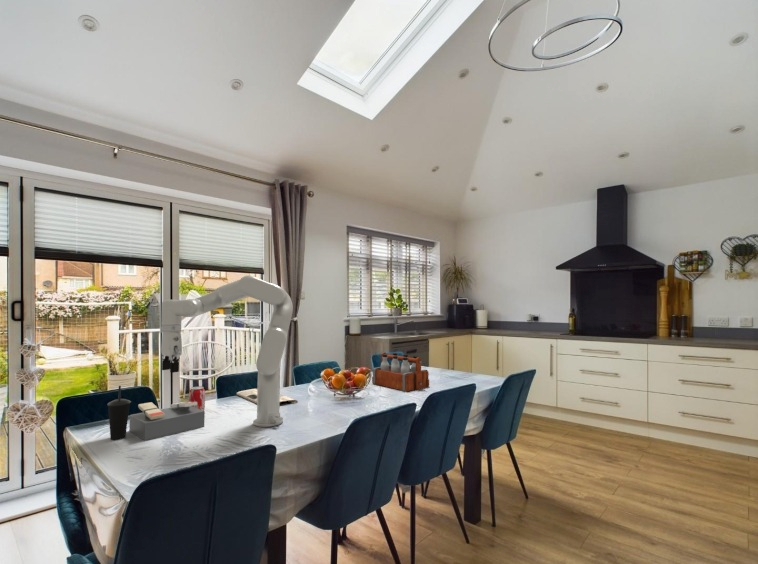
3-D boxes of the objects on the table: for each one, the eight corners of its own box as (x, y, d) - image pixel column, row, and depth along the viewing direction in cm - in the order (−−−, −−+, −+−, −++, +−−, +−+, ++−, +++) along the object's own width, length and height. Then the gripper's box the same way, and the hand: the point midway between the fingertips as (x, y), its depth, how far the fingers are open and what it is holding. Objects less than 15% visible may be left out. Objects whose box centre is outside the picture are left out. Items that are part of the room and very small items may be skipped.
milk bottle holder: (409, 393, 235) (409, 359, 236) (369, 383, 260) (369, 353, 261) (432, 387, 249) (432, 356, 250) (392, 379, 275) (392, 351, 276)
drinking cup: (112, 442, 151) (114, 388, 152) (102, 439, 155) (104, 386, 156) (133, 437, 158) (135, 385, 158) (123, 433, 162) (125, 383, 163)
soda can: (198, 415, 187) (199, 389, 187) (184, 414, 188) (185, 388, 188) (207, 411, 193) (208, 386, 194) (194, 410, 195) (195, 385, 195)
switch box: (204, 426, 171) (204, 408, 171) (144, 440, 153) (145, 420, 154) (181, 416, 185) (181, 399, 186) (124, 428, 168) (125, 409, 168)
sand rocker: (164, 417, 160) (164, 413, 160) (150, 420, 157) (151, 416, 157) (151, 405, 170) (151, 401, 170) (138, 407, 166) (138, 403, 166)
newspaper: (236, 396, 227) (236, 391, 227) (268, 391, 240) (268, 386, 240) (266, 409, 199) (266, 404, 199) (300, 403, 212) (300, 397, 212)
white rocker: (197, 405, 170) (197, 401, 170) (185, 407, 166) (185, 403, 167) (183, 405, 179) (182, 401, 179) (171, 407, 175) (171, 403, 176)
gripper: (189, 329, 167) (188, 372, 166) (172, 327, 178) (171, 367, 178) (170, 330, 161) (169, 374, 161) (153, 328, 173) (152, 369, 172)
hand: (170, 370), depth 169 cm, fingers open, 7 cm apart
